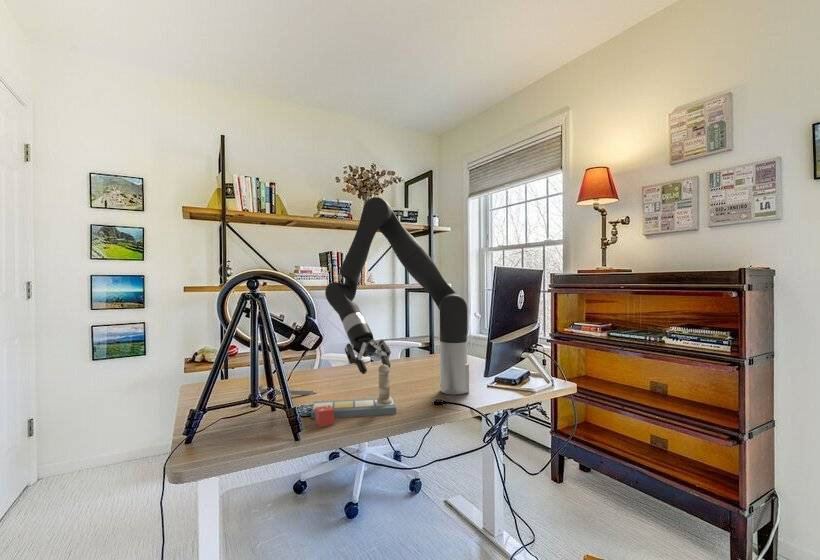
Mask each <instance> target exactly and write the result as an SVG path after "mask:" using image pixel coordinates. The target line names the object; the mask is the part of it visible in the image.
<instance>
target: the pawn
mask: <svg viewBox="0 0 820 560" xmlns="http://www.w3.org/2000/svg"><path fill="white" fill-rule="evenodd" d="M377 370H378V371H377V372H378V396H377V397H376V398H377V403H378V404H390V403H391V402H392V397H393V396H390V393H391V392H390V388H391V387H390V371H391V369H390V368H389V367H388V366H387V365H385V364H383V363H382V364H381V365H379V367H378V369H377Z"/></svg>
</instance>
